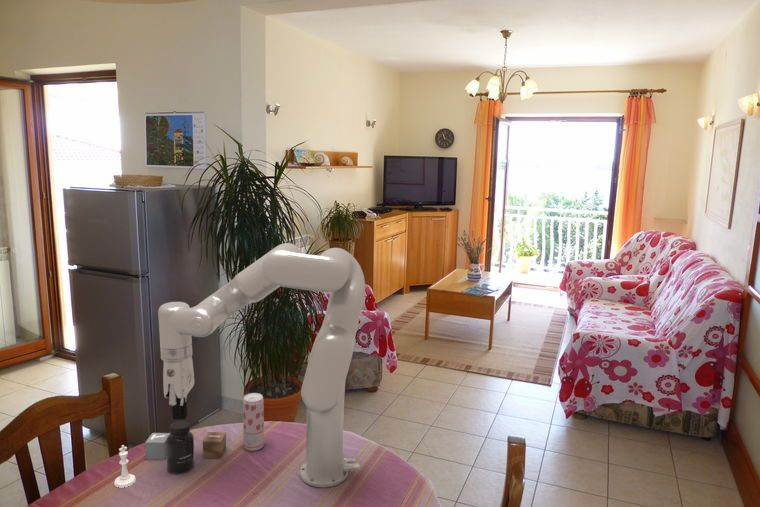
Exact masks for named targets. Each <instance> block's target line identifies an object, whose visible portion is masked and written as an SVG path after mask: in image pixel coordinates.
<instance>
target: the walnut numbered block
mask: <svg viewBox="0 0 760 507" xmlns="http://www.w3.org/2000/svg"><path fill="white" fill-rule="evenodd" d="M204 436H205V437H204V438H203V440H202V459H222V458H223V456H224V454H225V452H226V450H227V433H226V432H223V431H222V432H221V431H217V432H215V431H207V433H206V435H204Z"/></svg>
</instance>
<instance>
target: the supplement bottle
mask: <svg viewBox="0 0 760 507" xmlns="http://www.w3.org/2000/svg"><path fill="white" fill-rule="evenodd" d="M190 430H191V428H190V422H188V421H184V420H178V421H174V422H173V423H171V424H170V426H169V433H170V434H169V435H168V437H167V439H166V454H167V457H166V469H167V471H168V472H169V473H171V474H175V475H176V474H184V473H187V472H189V471H190V470H192V468H193V467H194V466H195V444H194V443H195V440H194V438H195V437H194V434H193V432H192V431H190Z"/></svg>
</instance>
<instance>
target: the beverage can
mask: <svg viewBox="0 0 760 507" xmlns="http://www.w3.org/2000/svg"><path fill="white" fill-rule="evenodd" d="M264 402H265V400H264V396H263V394H261V393H260V392H259V393H258V392H250V393H247V394H245V395H244V396H243V401H242V408H243V409H242V411H243V412H242V413H243V414H242V417H243V421H242V422H243V423H242V424H243V425H242V426H243V430H242V431H243V448H244V449H245V450H246V451H250V452H254V451H258V450H261V449H262V448H263V447H264V446H265V417H264V416H265V413H264V412H265V410H264V408H265V405H264Z"/></svg>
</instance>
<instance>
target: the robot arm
mask: <svg viewBox="0 0 760 507" xmlns="http://www.w3.org/2000/svg"><path fill="white" fill-rule="evenodd" d="M280 287H283V288H288V289H289V288H290V289H295V290H303V291H310V292H319V293H330V294H329V299H328V303H327V306H326V311H325V315H324V318H323V321H322V323H321V324H322V325H321V327H320V329H319V331H318V333H317V334H316V337H315V340H314V342H313V344H312V348H311V351H310V355H309V358H308V363H307V367H306V370H305V373H304V377H303V382H302V385H301V390H300V391H301V392H300V396H301V400H302V402H303V404H304V406H305V407H306V424H305V426H306V427H305V428H306V429H305V430H306V434H305V436H306V437H305V438H306V439H305V440H306V441H305V442H306V444H305V445H306V448H305V449H306V450H305V451H306V453H305V455H306V456H305V457H306V458H305V460H306V461H305V462H304V463H303V464H302V465H301V467H300V469H299V470H300V471H299V476H300V479H301V480H302V481H303V482H304V483H306V484H307V485H309V486H312V487H316V488H330V487H331V488H332V487H335V486H337V485H340V484H341V483H342V482H345V480H346V479H347V478H348V476H349V471H353V472H360V465H361V464H360V462H356V458H347V457H345V452H344V451H343V450H344V420H345V419H344V418H345V417H344V415H345V410H344V409H345V393H346V389H345V388H346V380H347V376H348V373H349V370H350V365H351V361H352V358H353V353H354V349H355V341H356V340H355V339H356V333H357V330H358V326H359V322H360V317H361V314H362V309H363V304H364V301H365V295H366V281H365V275H364V272H363V270H362V267H361V265H360V263H359V262H358V260H357V259H356V258H355V257H354V256H353V255H352V254H351V252H348V251H347V250H346V249H344V248H340V247H331V248H328V249H326V250H324V251H323V252H322V253H321V254H320V255H319V254H318V255H316V254H309V253H307V254H306V253H303V252H302V250H301V249H300V247H298V246H297V245H295V244H293V243H291V242H290V243H289V242H284V243H281V244H278V245H277V246H275V247H274V248H272V249H271V250H269V251H268V252H267V253H266V254H264V255H262V256H261V257H260V258H258V259H257V260H255V261H254V262H253V263H251V264H250V265H248V266H247V267H246V268H244V269H243V270H242V271H240V272H239V273H237V274H236V275H235V276H234V278H233V279H232V280H230V281H229V282H227V283H226V284H225V285H223V286H221V287H220V288H219V289H218V290H216V291H214V292H213V293H212V294H211V295H209V296H208V297H206V298H204V299H203V300H202V301H201V302H200V303H198V304H197V305H195V306H192V307H190V305H189V304H188V303H187V302H184V301H169V302H165V303H163V304H161V305H160V307H158V312H157V314H158V315H157V316H158V329H159V330H158V331H159V347H160V349H159V350H160V359H161V360H162V361H163V365H162V366H163V368H162V369H163V372H162V376H163V377H162V381H163V382H162V383H163V384H162V387H163V397H164V399H166V400H168V405H169V406H171V408H172V409H171V410H172V419H173V420H185V419H186V418H187V417H188V408H187V407H188V404H187V401H188V400H187V398H188V395H189V393H190V391H191V390H192V389H193V387H194V385H195V373H194V372H195V370H194V362H193V357H192V356H193V341H192V339H193V338H192V337H195V338H205V337H208V336H209V335H211V334H213V332H214V331H216V329H217V328H218V327H219V326H220V325H221V324H223V322H225V320H228V318H230V317H232V315H234V314H236V312H237V313H238V311H240V310H241V309H243V308H244V307H245V306H247V305H250V304H253V303H259V302H260V301H261V300H264V299H265V298H266V297H267V296H268V295H271V293H273V292H274V291H276V290H277V289H279V288H280ZM347 475H348V476H347ZM346 477H347V478H346Z"/></svg>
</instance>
